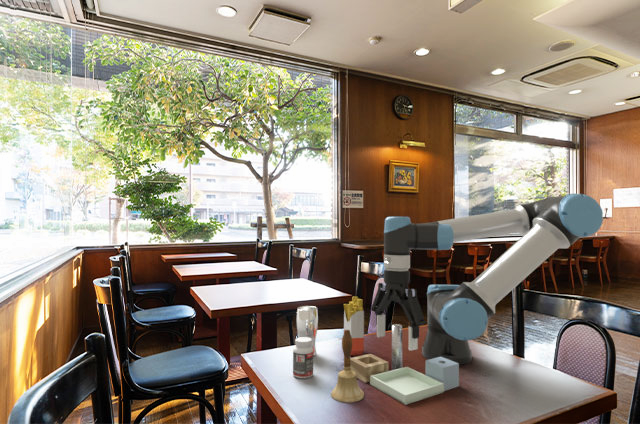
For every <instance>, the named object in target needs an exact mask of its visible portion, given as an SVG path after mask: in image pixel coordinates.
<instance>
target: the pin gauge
mask: <svg viewBox="0 0 640 424" xmlns="http://www.w3.org/2000/svg"><path fill="white" fill-rule="evenodd" d="M399 368H403V325H402V324H399V323H398V324H397V323H394V324H391V371H392V370H395V369H399Z"/></svg>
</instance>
